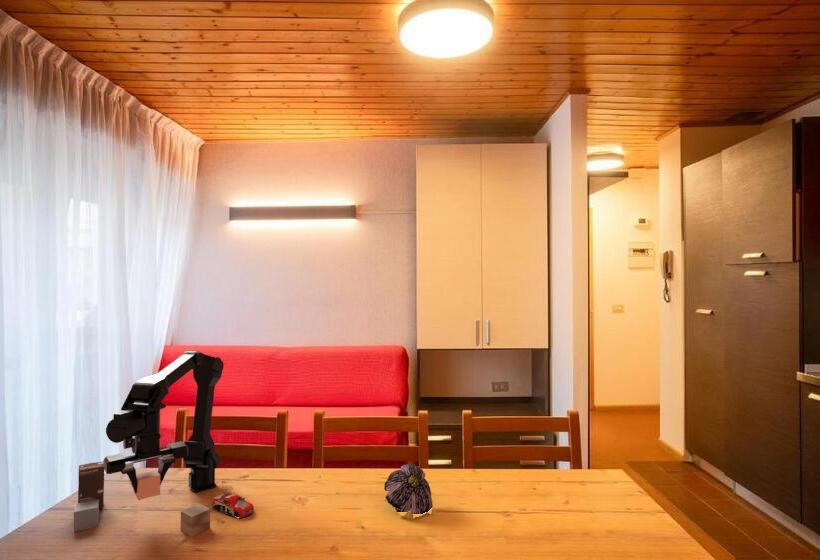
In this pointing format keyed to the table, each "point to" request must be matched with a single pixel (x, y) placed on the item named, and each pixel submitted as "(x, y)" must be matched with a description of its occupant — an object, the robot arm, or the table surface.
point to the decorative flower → (409, 490)
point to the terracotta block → (147, 484)
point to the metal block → (195, 519)
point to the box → (91, 483)
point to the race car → (232, 505)
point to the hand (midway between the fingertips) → (147, 489)
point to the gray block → (86, 515)
